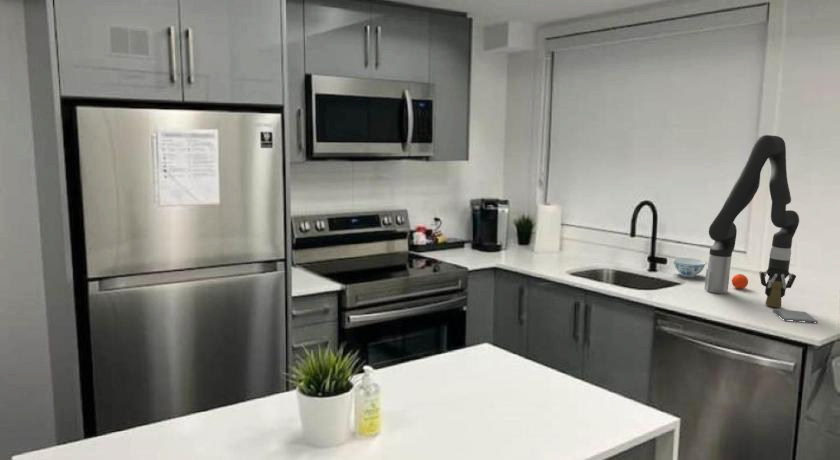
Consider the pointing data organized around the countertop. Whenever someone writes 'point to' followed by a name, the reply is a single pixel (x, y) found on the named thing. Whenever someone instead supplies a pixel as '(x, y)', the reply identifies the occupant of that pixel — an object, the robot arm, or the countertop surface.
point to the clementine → (739, 281)
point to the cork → (775, 294)
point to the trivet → (794, 315)
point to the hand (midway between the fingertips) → (774, 296)
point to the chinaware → (688, 266)
